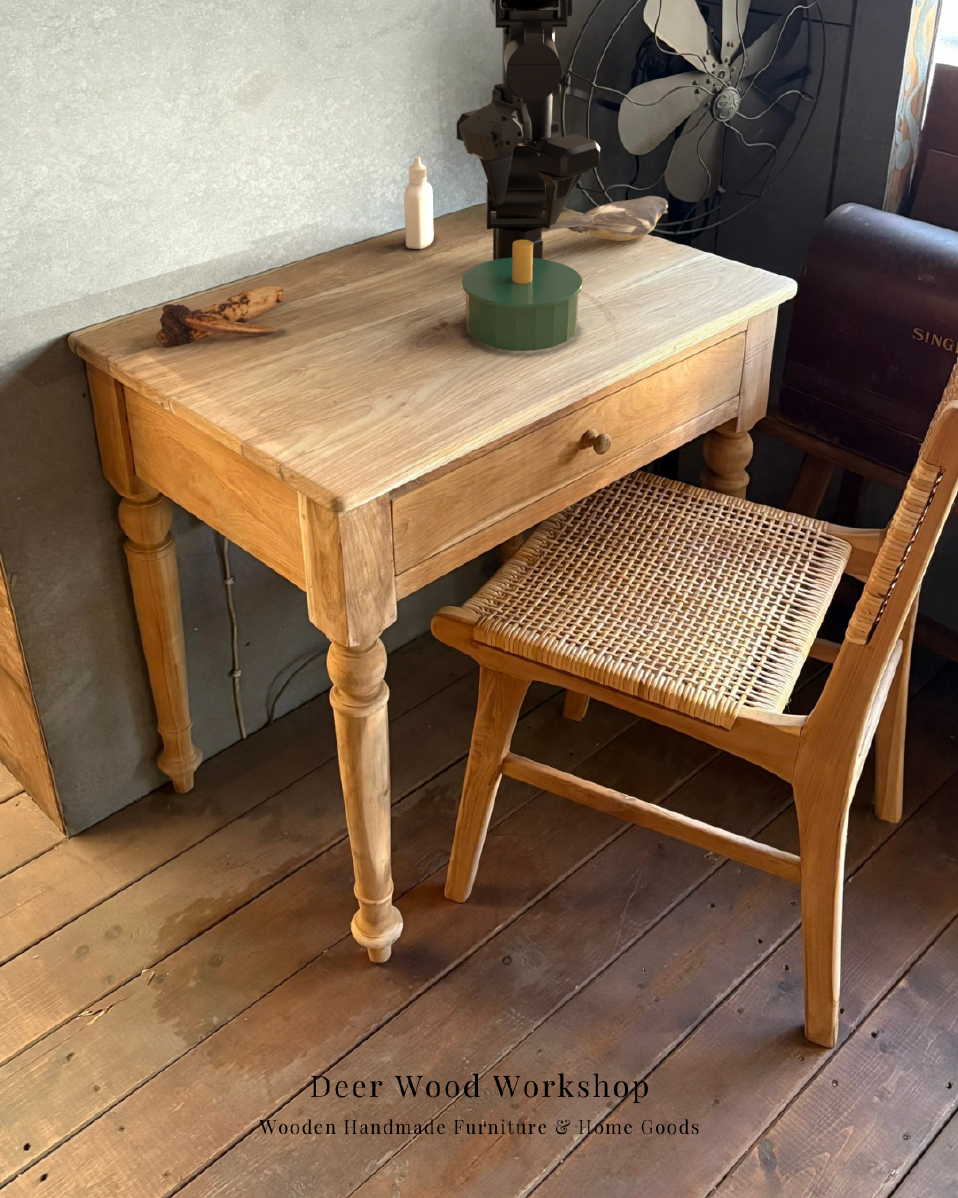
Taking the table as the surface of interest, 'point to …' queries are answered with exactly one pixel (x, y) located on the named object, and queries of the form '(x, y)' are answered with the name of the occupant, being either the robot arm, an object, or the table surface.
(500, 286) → the lid
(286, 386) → the table surface
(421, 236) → the eye dropper bottle
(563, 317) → the tin
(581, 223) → the decorative bird
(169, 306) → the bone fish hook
